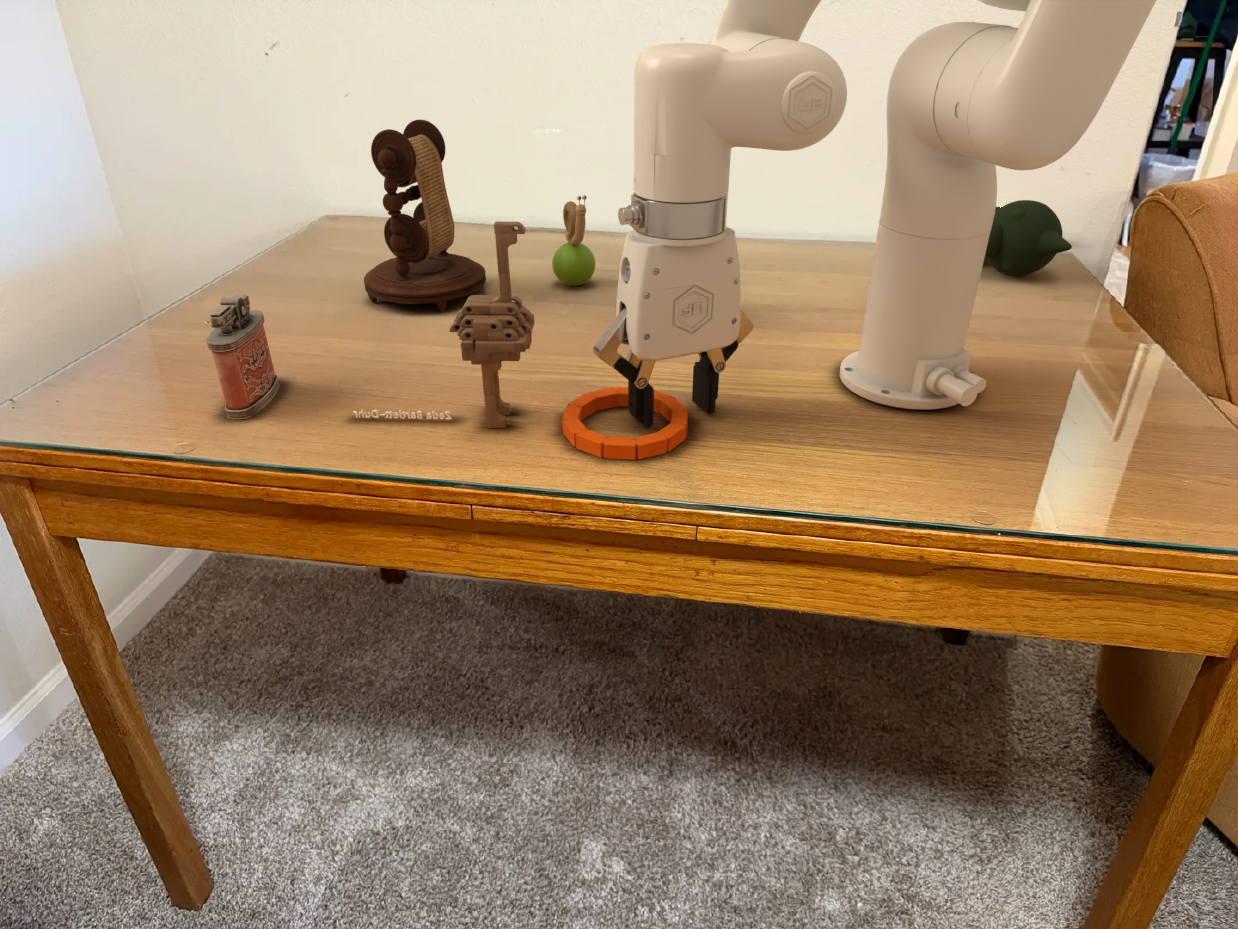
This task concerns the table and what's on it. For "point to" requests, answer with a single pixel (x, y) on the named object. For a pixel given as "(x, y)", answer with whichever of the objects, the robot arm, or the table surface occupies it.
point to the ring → (623, 445)
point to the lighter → (242, 357)
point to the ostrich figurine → (490, 332)
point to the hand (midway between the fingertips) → (673, 412)
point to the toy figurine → (1024, 238)
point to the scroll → (418, 223)
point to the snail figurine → (574, 248)
